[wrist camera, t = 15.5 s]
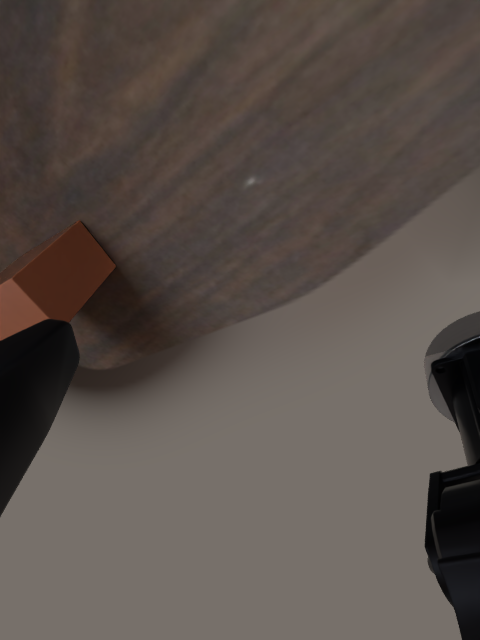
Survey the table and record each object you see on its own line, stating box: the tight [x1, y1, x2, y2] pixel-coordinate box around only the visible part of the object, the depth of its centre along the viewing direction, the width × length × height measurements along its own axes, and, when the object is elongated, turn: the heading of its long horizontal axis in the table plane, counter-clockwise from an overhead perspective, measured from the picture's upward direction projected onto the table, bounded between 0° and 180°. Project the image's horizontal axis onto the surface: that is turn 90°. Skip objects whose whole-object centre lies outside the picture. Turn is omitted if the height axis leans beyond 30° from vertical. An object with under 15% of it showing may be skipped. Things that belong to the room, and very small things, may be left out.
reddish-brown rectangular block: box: [0, 220, 116, 341], centre depth 22 cm, size 3×5×6 cm, turn 122°
